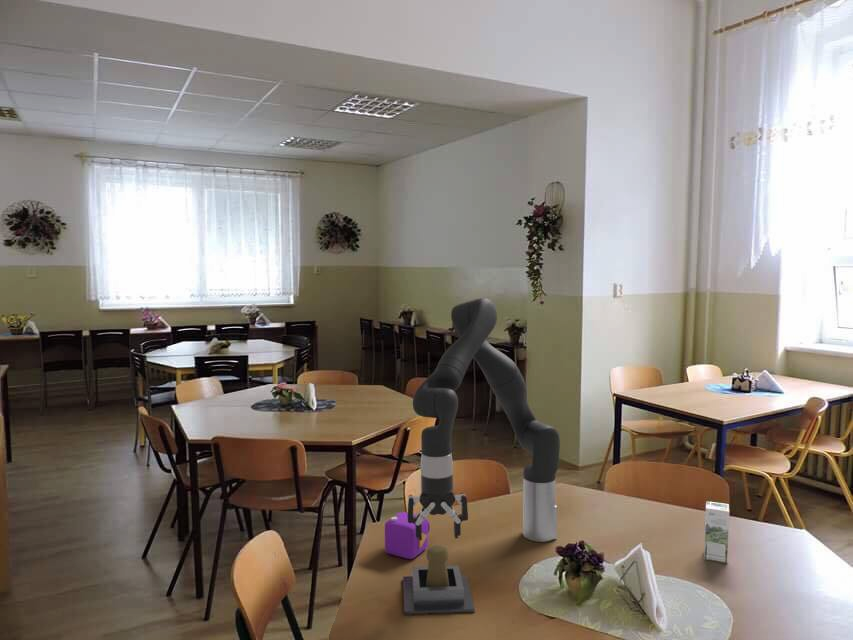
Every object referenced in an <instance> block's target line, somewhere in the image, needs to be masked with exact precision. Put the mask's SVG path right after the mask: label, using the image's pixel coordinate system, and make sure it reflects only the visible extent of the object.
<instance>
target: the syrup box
mask: <svg viewBox="0 0 853 640" xmlns="http://www.w3.org/2000/svg"><path fill="white" fill-rule="evenodd" d="M704 518H705V519H704V522H705V523H704V546H703V547H704V548H703V559H704V560H705V561H711V562H717V563H723V564H728V556H729V555H728V554H729V534H730V533H729V530H730V504H729V503H723V502H722V503H721V502H716V501H708V500H707V501H705V516H704Z"/></svg>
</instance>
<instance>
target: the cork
mask: <svg viewBox="0 0 853 640" xmlns="http://www.w3.org/2000/svg"><path fill="white" fill-rule="evenodd" d="M426 559H427V561H428V565H427V567H428V572H427V580H426V587H449V580H448V572H447V566H448V565H447V561H448V559H449V551H448V549H447V547H445V545H441V544H434V545H430V546H429V547H428V549H427V550H426Z"/></svg>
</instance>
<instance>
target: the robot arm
mask: <svg viewBox="0 0 853 640" xmlns="http://www.w3.org/2000/svg"><path fill="white" fill-rule="evenodd" d="M450 315H451V316H450V317H451V323H452V325H453V328H454V330H455V332H456V333H457V336H459V338H457V339H456V340H455V342H453V343H452V344H451V345H450V346H449V347H448V348H447V349H446V350H445V351H444V353H443V354H442V356H441V358H440V359H439V361H438V364H437V365H436V367H435V369H434V371H433V372H432V373H431V374H430V375H429V376H428V377H427V378H426V379H425V380H424V381H423V382H422V383H421V384H420V385H419V386H418V388H417V389H416V391H415V393H414V394H413V398H412V409H413V411H414V413H415V414H417V415H418V416H420V417H422V418H431V419H432V418H433V419H439V423H438V425H433V426H432V425H431V426H426V427H425V428H424V429H423V430H422V431H421V433H420V434H421V438H420V440H421V445H420V446H421V447H420V449H421V458H420V490H421V492H420V495H419V496H414V495H413V494H409V495H408V497H407V513H408V515H407V518H408V523H414V524H415V529H416V537H417V538H419V540H422V525H421V522H422V521H423V520H424V519H425V518H427V516H428V515H431V516H436V515H442V516H443V515H445V514H448V515H449V517H450V518H452V520H453V536H454V539H459V537H460V536H461V533H462V532H461V530H462V529H461V523H462V522H464V521H468V520H469V513H468V510H469V509H468V500H467V499H468V498H467V495H466V493H465V492H461V493H460V494H454V481H453V480H454V465H453V464H454V463H453V456H452V434H453V429H454V428H453V427H454V424H455V423H454V422H455V420H456V415H457V412H458V408H459V397H458V395H457V393H456V390H458V389H459V388H460V386H461V384H462V382H463V379H464V377H465V375H466V373H467V370H468V369H469V366H470V364H471V362H472V360H473V359H474V360H475V361H476V363H477V365H478V366H479V368H480V369H481V372H482V373H483V375H484V377H485V380H486V381H487V383H488V385H489V387H490V388H491V390H492V393H493V394H494V395H495V398H496V399H497V400H498V402H499V404H500V405H501V408H502V409H503V412H504V413H505V415H506V416H507V418H508V420H509V422H510V425H511V427H512V431H513V432H514V434H515V437H516V439H517V442H518V443H519V445H520V447H521V448H522V449H524V451H527V452H528V453H530V454H532V462H531V464H530V463H529V464H527V465H526V466H524V468H523V472H522V473H523V477H522V478H523V479H522V481H523V482H522V484H523V485H522V486H523V487H522V488H523V489H522V492H523V493H522V495H523V496H522V503H523V504H522V536H523V537H524V538H525V539H526V540H529V541H533V542H537V543H539V542H540V543H545V542H550V541H554V540H557V539H558V506H557V504H556V487H557V486H556V483H557V482H556V481H557V480H556V477H557V476H556V475H557V472H558V470H559V466H560V465H559V464H560V453H561V452H560V448H561V439H560V434H559V431H558V430H557V429H556V428H555V427H553V426H551V425H548V424H546V423H542V422H540V420H538V419H537V417H535V415H534V413H533V411H532V410H531V408H530V406H529V404H528V391H527V384H526V382H525V380H524V376H523V375H522V373H521V371H520V369H519V366H517V364H516V363H515V362H514V361H513V360H512V359H511V358H510V357H508V356H507V355H506V354H505V353H503V352H501V351H500V350H498V349H497V348H495V347H494V346H492V344H490V343H489V342H488V341H487V338H488V337H489V336H490V335H491V334H492V332H493V330H494V328H495V327H496V325H497V320H498V312H497V308H496V307H495V304H494V303H493V302H492V301H491V300H490V299H488V298H485V297H483V298H482V297H481V298H475V299H473V300H470V301H469V300H468V301H465V302H462V303H459V304H456V305H454V307H452V309H451V313H450ZM455 501H457V503H458V505H460V507H461V508H460V509H461V513H460V514H458V512H457V511H456V510H455V508H454V507H453V505H454V503H455ZM418 503H420V505H421V506H422V507H421V508H420V510H419V512H418V513H417V514H418V515H417V514H416V515H417V516H416V517H415V516H413V514H414V507H416V506H417V505H418Z"/></svg>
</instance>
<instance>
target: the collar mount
mask: <svg viewBox="0 0 853 640" xmlns="http://www.w3.org/2000/svg"><path fill="white" fill-rule="evenodd" d="M427 572H428V566H412V567H411V575H410V576H409V575H408V576H402V583H403V585H402V587H403V611H404V613H403V614H404V616H406V615H407V616H408V615H412V616H413V614H414V615H429V614H428V613H440V614H460V613H459V612H462V614H463V612H464V613H475V611H476V610H475V605H474V601H473V597H472V592H471V587H470V584H469V580H468V576H467V575H468V574H463V573H462V574H461V570H460V565H447V572H448V580H449V587H426V580H427ZM455 612H456V613H455Z"/></svg>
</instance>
